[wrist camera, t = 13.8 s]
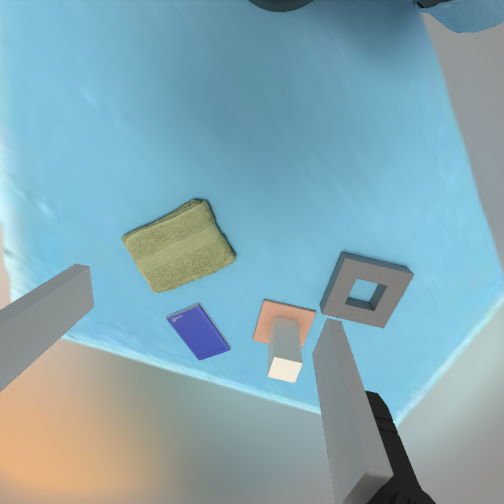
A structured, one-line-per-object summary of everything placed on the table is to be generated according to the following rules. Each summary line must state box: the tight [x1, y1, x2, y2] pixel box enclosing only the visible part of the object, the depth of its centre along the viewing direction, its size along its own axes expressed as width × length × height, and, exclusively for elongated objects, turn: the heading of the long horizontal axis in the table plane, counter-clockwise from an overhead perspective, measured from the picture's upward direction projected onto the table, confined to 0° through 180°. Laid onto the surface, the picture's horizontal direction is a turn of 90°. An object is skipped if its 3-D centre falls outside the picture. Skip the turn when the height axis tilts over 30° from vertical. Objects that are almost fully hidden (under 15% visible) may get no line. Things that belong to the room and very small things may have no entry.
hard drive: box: [166, 302, 231, 360], centre depth 51 cm, size 2×8×12 cm
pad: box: [253, 299, 316, 349], centre depth 48 cm, size 10×10×1 cm
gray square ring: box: [320, 252, 414, 328], centre depth 42 cm, size 11×11×2 cm
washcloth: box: [122, 199, 236, 293], centre depth 43 cm, size 13×18×3 cm
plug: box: [267, 316, 303, 383], centre depth 43 cm, size 4×4×10 cm
